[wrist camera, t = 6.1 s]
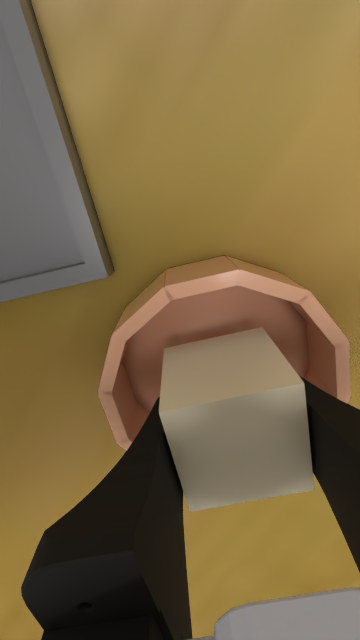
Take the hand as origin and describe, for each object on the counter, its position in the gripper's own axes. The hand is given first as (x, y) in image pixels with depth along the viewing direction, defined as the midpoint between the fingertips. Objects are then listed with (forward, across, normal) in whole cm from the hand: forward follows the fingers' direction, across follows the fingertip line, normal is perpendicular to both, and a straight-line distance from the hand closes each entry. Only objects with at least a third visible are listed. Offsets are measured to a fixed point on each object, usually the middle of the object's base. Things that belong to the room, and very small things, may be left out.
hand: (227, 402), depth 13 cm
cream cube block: (+2, 0, 0) cm, 2 cm away
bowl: (+4, 0, 0) cm, 4 cm away
